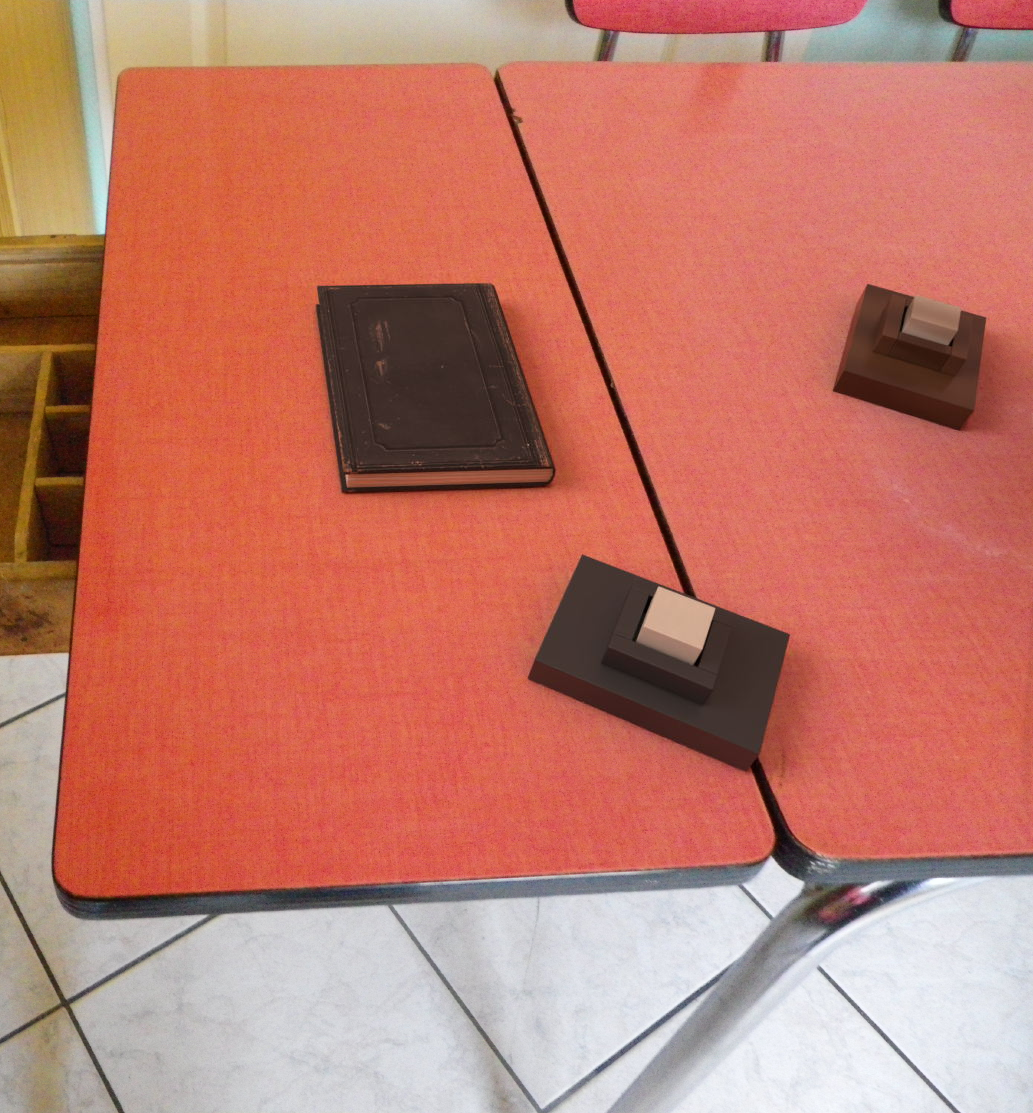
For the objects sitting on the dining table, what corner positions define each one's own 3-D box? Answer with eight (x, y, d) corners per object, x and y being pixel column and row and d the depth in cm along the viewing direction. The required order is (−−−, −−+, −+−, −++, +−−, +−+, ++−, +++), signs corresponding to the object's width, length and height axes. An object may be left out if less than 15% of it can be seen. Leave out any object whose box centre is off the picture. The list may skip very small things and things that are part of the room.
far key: (905, 311, 87) (915, 294, 86) (950, 324, 86) (961, 307, 85) (900, 334, 85) (911, 317, 83) (946, 347, 84) (958, 330, 82)
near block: (777, 653, 68) (801, 617, 65) (746, 772, 62) (771, 738, 59) (574, 574, 72) (588, 536, 69) (527, 678, 66) (540, 642, 63)
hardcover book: (341, 493, 76) (344, 471, 74) (315, 307, 91) (317, 285, 89) (551, 487, 77) (558, 465, 75) (492, 304, 92) (496, 282, 90)
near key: (706, 624, 65) (715, 607, 63) (692, 666, 62) (702, 649, 61) (650, 602, 66) (658, 585, 64) (635, 642, 64) (643, 626, 62)
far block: (856, 303, 94) (876, 266, 91) (973, 337, 91) (998, 299, 88) (832, 390, 85) (853, 352, 82) (959, 430, 83) (987, 393, 80)
